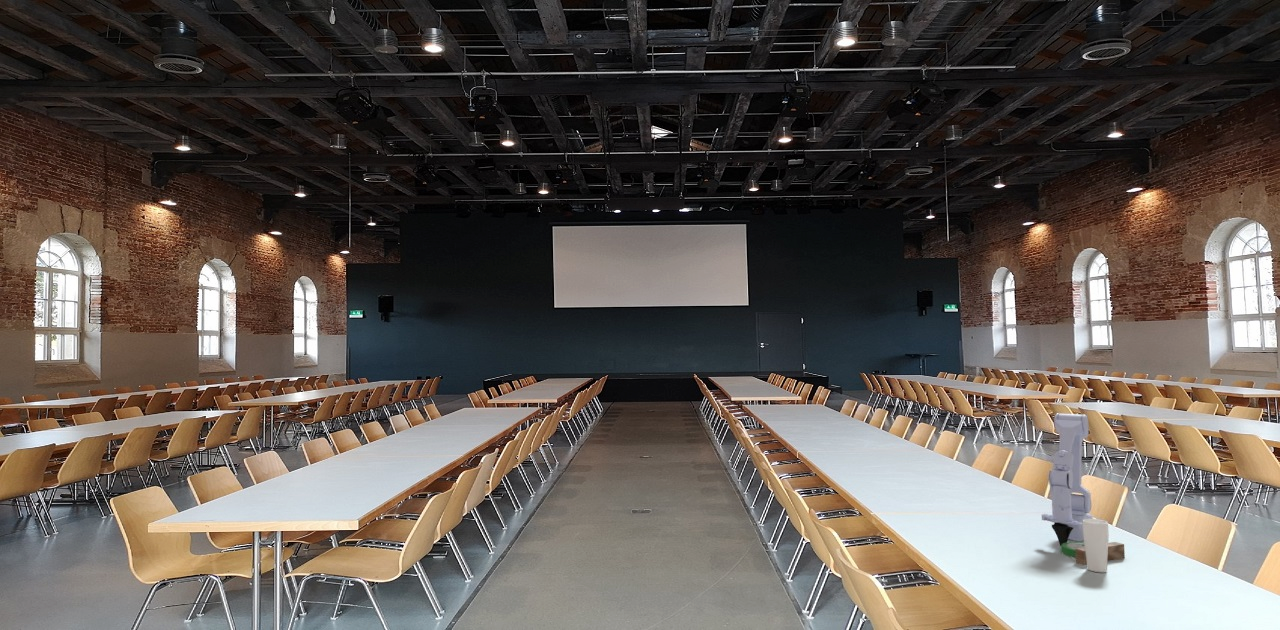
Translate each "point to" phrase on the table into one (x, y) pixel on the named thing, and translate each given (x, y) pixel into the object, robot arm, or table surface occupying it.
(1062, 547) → the tape roll
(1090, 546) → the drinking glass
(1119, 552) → the brown wooden bar
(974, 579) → the table surface
